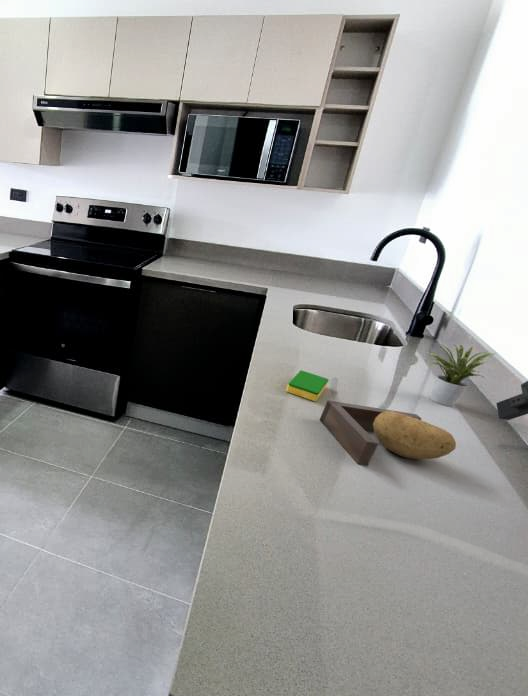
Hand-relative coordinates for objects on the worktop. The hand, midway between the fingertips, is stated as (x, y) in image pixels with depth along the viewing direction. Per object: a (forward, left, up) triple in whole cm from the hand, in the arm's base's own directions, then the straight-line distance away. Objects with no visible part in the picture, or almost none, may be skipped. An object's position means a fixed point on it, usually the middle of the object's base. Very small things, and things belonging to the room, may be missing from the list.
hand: (502, 411), depth 81 cm
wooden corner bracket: (+10, -14, -18) cm, 25 cm away
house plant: (-4, -60, -18) cm, 63 cm away
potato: (+7, -14, -18) cm, 24 cm away
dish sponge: (+28, -35, -18) cm, 48 cm away
